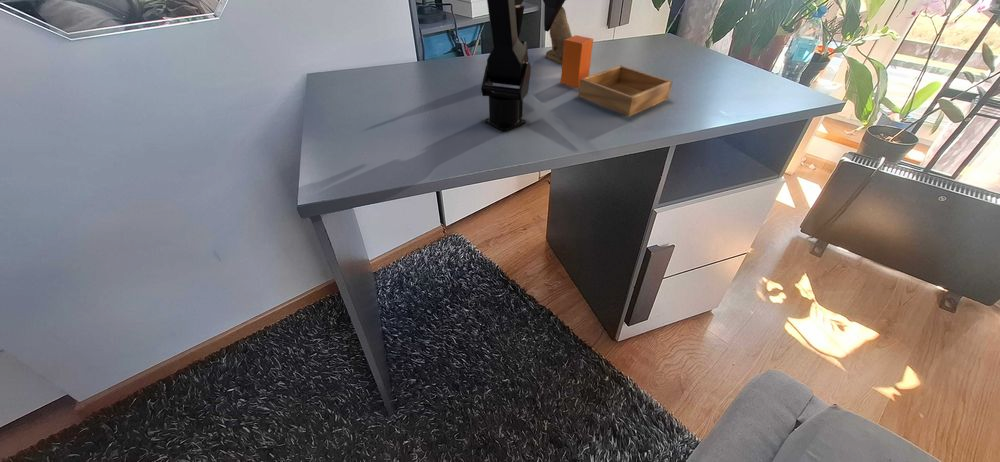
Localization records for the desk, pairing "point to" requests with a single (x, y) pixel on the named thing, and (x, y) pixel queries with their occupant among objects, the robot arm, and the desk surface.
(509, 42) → the robot arm
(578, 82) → the orange square pillar
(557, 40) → the worn brown figurine
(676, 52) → the desk surface
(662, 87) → the wooden box
